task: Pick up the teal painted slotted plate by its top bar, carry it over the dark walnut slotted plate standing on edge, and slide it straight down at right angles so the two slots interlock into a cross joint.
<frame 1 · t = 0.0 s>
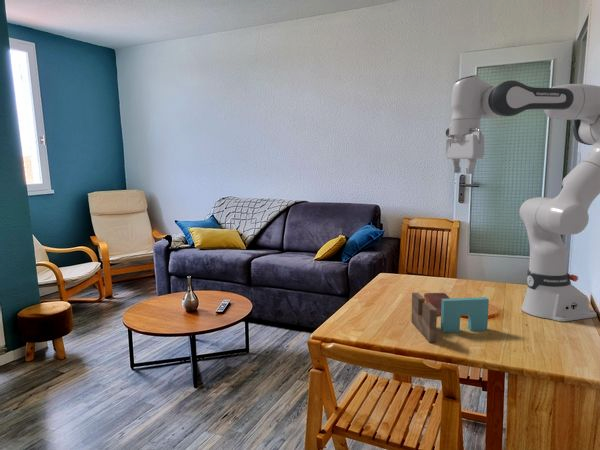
hand: (463, 173, 138), 48 cm above the table, tool pointing down, fingers open, 8 cm apart
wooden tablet: (440, 306, 157), on the table
teal slotted plate: (463, 329, 133), on the table
walnut slotted plate: (422, 331, 132), on the table
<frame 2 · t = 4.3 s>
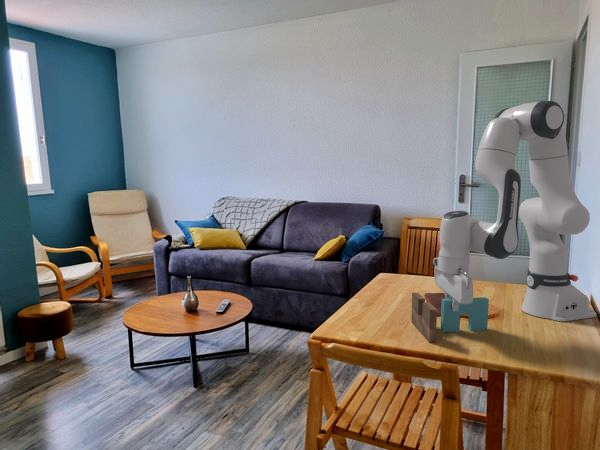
hand: (452, 308, 132), 7 cm above the table, tool pointing down, fingers closed on teal slotted plate, 2 cm apart
teal slotted plate: (463, 329, 133), on the table, touching gripper
everything else where it was.
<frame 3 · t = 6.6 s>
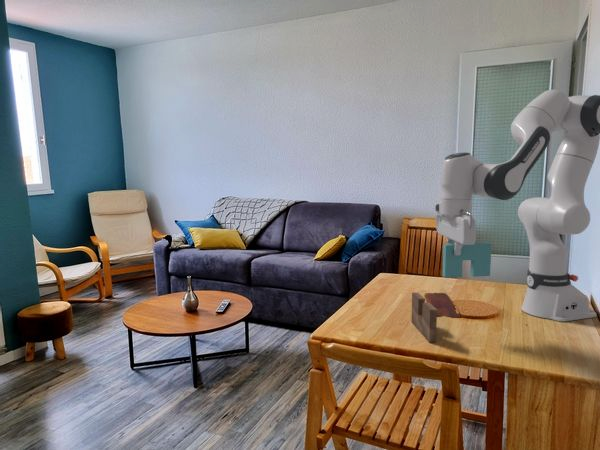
hand: (454, 253, 129), 24 cm above the table, tool pointing down, fingers closed on teal slotted plate
teal slotted plate: (466, 276, 131), point 17 cm above the table, touching gripper
everything else where it was.
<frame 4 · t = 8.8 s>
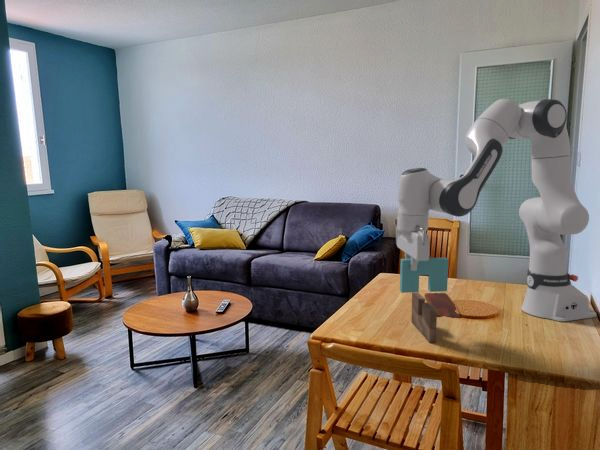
hand: (411, 268, 129), 20 cm above the table, tool pointing down, fingers closed on teal slotted plate
teal slotted plate: (423, 290, 130), point 13 cm above the table, touching gripper
everything else where it was.
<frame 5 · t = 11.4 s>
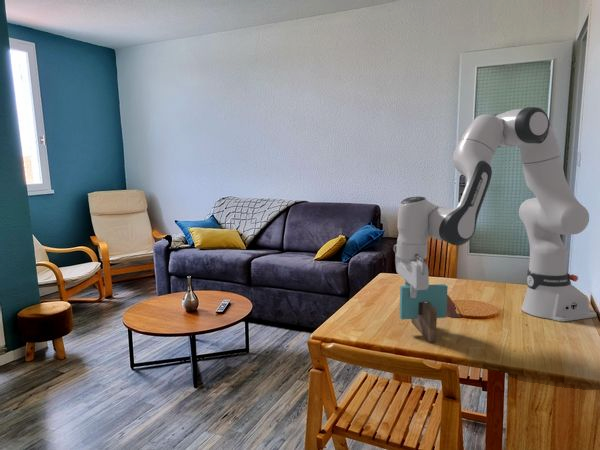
hand: (410, 295, 130), 12 cm above the table, tool pointing down, fingers closed on teal slotted plate
teal slotted plate: (422, 317, 132), point 5 cm above the table, touching gripper
everything else where it was.
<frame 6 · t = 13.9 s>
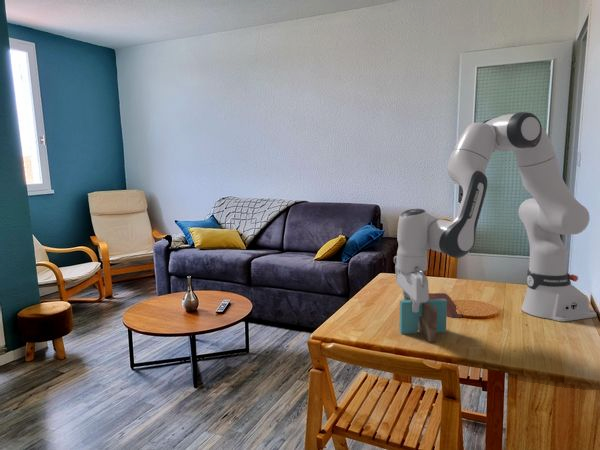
hand: (410, 307, 131), 8 cm above the table, tool pointing down, fingers open, 6 cm apart
teal slotted plate: (422, 331, 132), on the table
everything else where it was.
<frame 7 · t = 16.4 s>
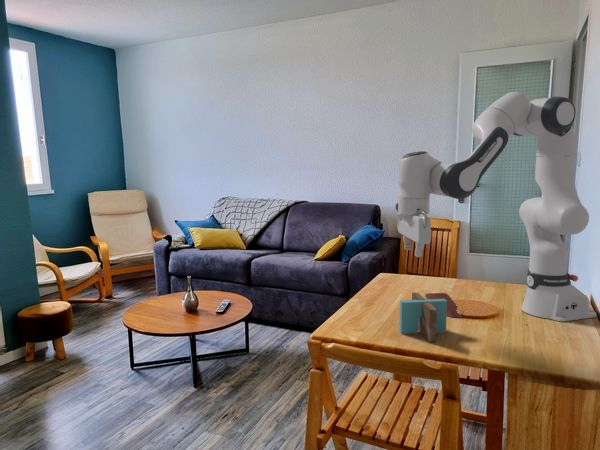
hand: (412, 253, 129), 25 cm above the table, tool pointing down, fingers open, 8 cm apart
nothing on the table moved.
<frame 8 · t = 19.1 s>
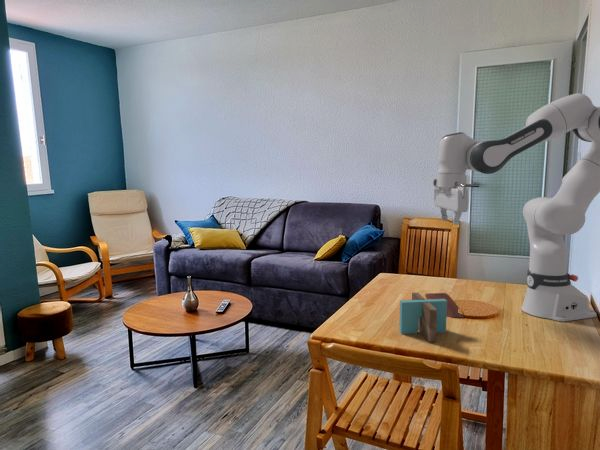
hand: (449, 222, 146), 31 cm above the table, tool pointing down, fingers open, 8 cm apart
at the end: teal slotted plate 0.1 cm off-centre on the walnut slotted plate, point 0.0 cm above the walnut slotted plate's base; teal slotted plate tilted 0°; the gripper is holding nothing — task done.
